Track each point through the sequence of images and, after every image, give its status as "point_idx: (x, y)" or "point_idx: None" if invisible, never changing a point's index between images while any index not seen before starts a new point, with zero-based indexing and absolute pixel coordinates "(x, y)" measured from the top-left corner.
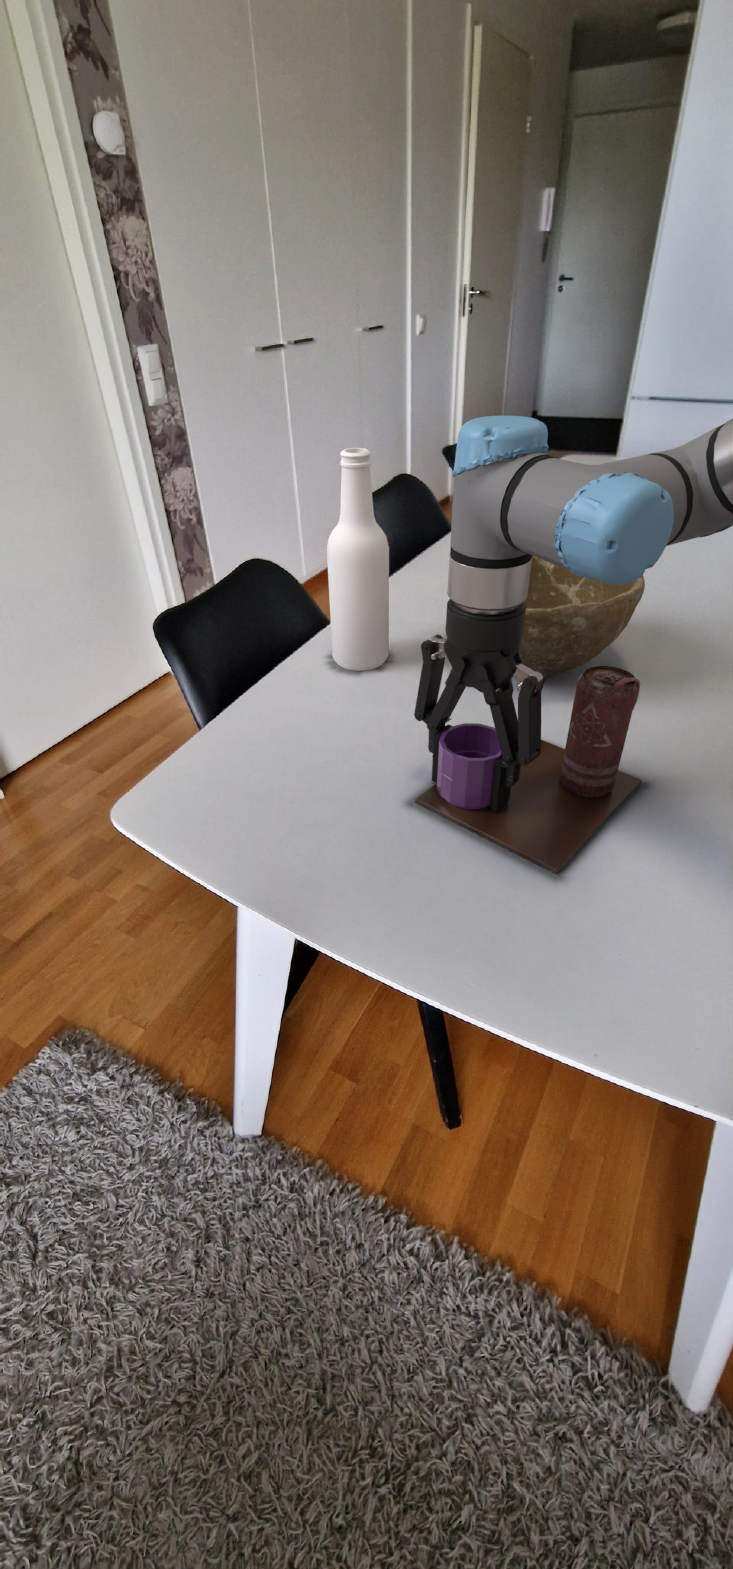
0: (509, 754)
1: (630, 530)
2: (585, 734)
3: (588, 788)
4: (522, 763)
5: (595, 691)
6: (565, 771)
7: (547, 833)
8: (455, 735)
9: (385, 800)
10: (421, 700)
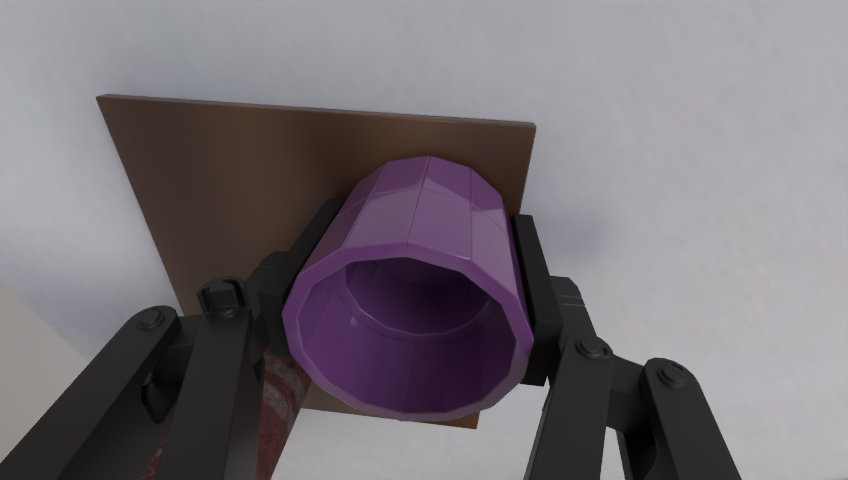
0: (208, 327)
1: None
2: (155, 472)
3: None
4: (163, 311)
5: None
6: (268, 363)
7: (205, 199)
8: (501, 354)
9: (625, 77)
10: (703, 467)
